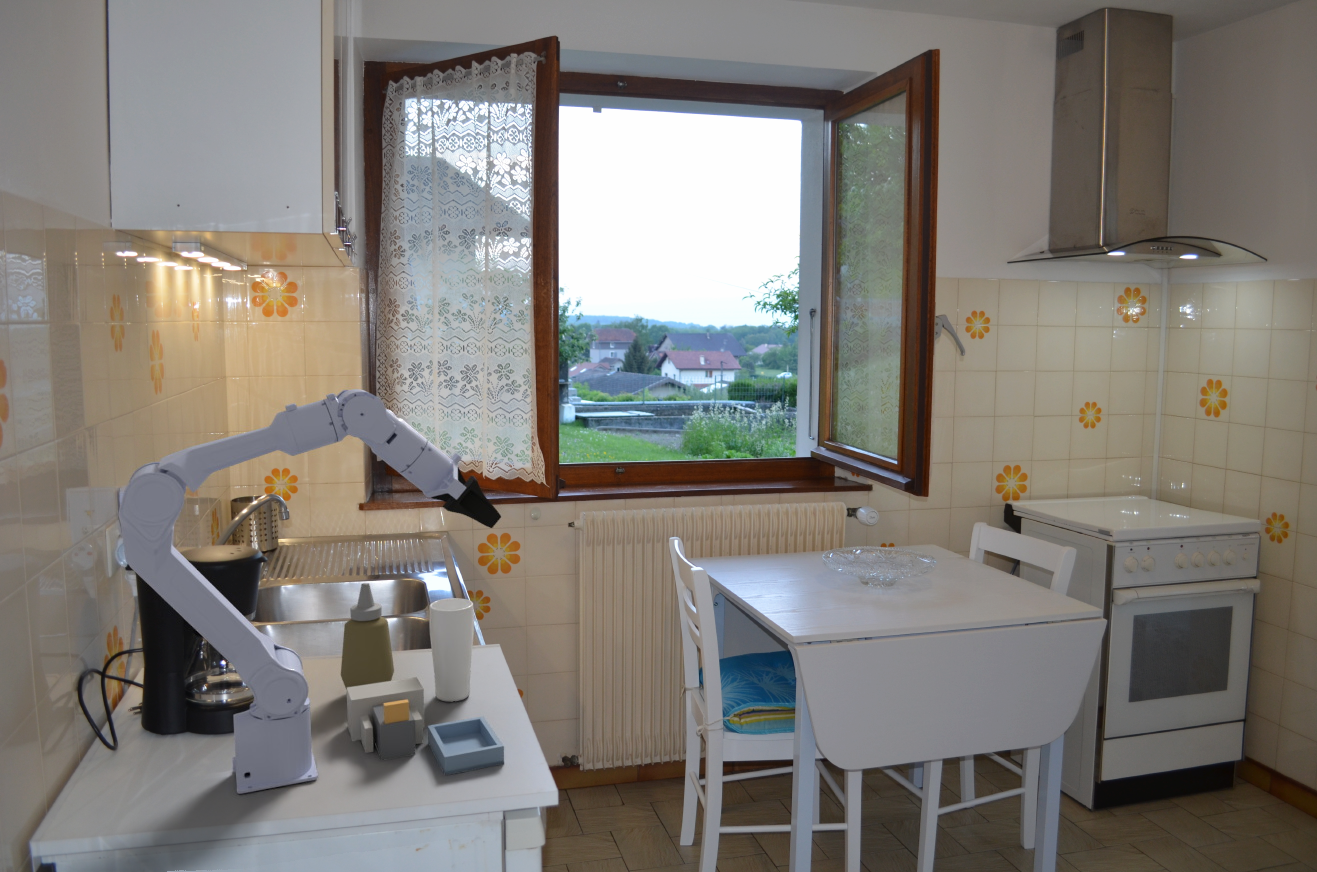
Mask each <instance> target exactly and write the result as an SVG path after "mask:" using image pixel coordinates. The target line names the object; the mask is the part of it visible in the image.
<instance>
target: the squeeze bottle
mask: <svg viewBox="0 0 1317 872" xmlns="http://www.w3.org/2000/svg"><path fill="white" fill-rule="evenodd" d="M382 612H383V609H382V605H381V604H380V603H378V602H375V601H374V597H373V592H372V589H371V585H370V583H369V582H363V583H361V584H360V590H359V594H358V600H357V603H356V604H354V605H352V606H350V619H349V620H347V621H346V622H345V623H344V627H343V628H344V629H343V642H342V655H341V663H340V665H341V666H340V678H341V680H342V682H343V685H344V687H345V690H346V691H347V687H354V686H360V685H367V684H374V683H380V682H387V681H393V680H392V679H393V676H394V674H395V667H394V659H393V650H392V649H393V648H392V643H391V637H390V636H391V635H390V627H389V626H390V625H389V621H388V619H386V617H384V616H382V615H383V613H382Z"/></svg>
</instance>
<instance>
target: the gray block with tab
mask: <svg viewBox="0 0 1317 872" xmlns="http://www.w3.org/2000/svg"><path fill="white" fill-rule="evenodd" d="M372 710H373V744H374V745H375V747H376V750H377V753H378V755H379V758H380V760H381V761H382V762H383V761H386V760H392V759H397V758H402V757H409V756H412V755H416V744H415V720H414V718H413V716H412V714H411V712H410V710H409V701H408V699H406V700H400V701H394V702H388V703H383V705H377V706H372Z"/></svg>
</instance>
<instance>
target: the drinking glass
mask: <svg viewBox="0 0 1317 872" xmlns="http://www.w3.org/2000/svg"><path fill="white" fill-rule="evenodd" d="M474 613H475V612H474V603H473V601H471V600H469V599H466V598H458V597H456V598H454V597H451V598H449V597H448V598H443V599H438V600H436V601H433V602H431V603H430V604H429V617H428V618H429V622H428V623H429V636H430V637H429V638H430V647H431V656H432V666H433V675H434V688H435V689H434V692H435V694H434V695H435V696H436V698H437V699H438V700H440V701H442V702H445V703H446V702H448V703H449V702H450V703H452V702H453V701H455V702H460V701H462V700H463V701H464V699H466V698H468V697H469V695H470V693H471V673H472V671H471V668H472V658H473V647H474V632H475V631H474V627H475V616H474ZM453 703H454V702H453Z"/></svg>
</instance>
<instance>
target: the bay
mask: <svg viewBox="0 0 1317 872" xmlns="http://www.w3.org/2000/svg"><path fill="white" fill-rule="evenodd" d="M424 690H425V689H424V688H423V686H422V684H421V682H420V681H419V678H418V677H417V676H415V677H408V678H403V679H394V680H391V681H387V682H380V683H374V684H367V685H360V686H354V687H347V690H346V714H347V718H346V719H347V728H348V733H349V734H350V739H351V740H352V742H356V741H361V743H362V746H363V750H364V752H365V754H367V753H368V754H369V753H373V752H374V740H373V710H372V706H377V705H383V703H388V702H394V701H400V700H406V699H408V701H409V710H410V712H411V714H412V716H413V718H414V720H415V745H419V744H424V743H423V742H424V741H423V730H424V729H425V697H424V696H425V695H424V694H425V693H424V692H425V691H424Z"/></svg>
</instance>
